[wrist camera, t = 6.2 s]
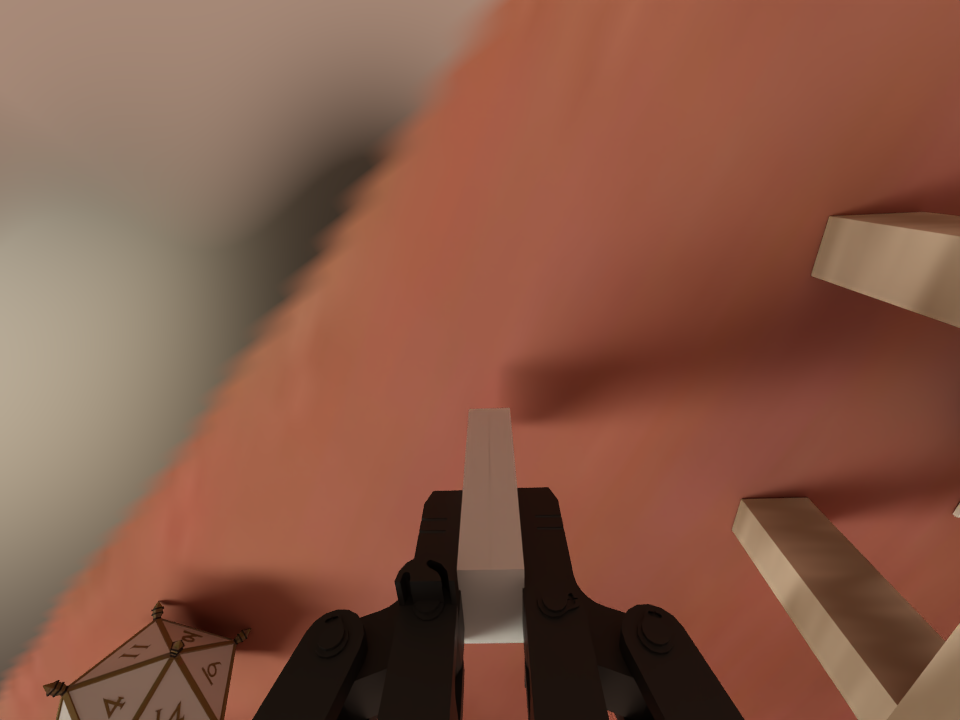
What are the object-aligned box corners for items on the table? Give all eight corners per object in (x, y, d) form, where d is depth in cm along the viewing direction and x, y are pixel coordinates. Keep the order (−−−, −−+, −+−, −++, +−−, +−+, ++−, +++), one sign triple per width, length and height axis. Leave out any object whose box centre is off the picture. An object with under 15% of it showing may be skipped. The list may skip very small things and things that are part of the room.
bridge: (922, 211, 13) (1633, 291, 5) (794, 528, 20) (1018, 793, 11) (829, 216, 13) (1373, 301, 5) (731, 529, 20) (907, 793, 12)
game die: (229, 551, 27) (152, 627, 17) (295, 663, 27) (255, 800, 17) (76, 645, 24) (-118, 797, 14) (149, 769, 24) (6, 1001, 14)
